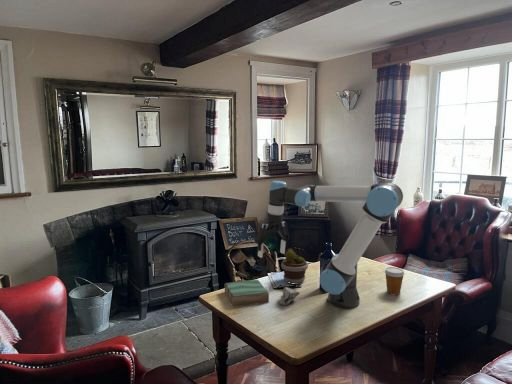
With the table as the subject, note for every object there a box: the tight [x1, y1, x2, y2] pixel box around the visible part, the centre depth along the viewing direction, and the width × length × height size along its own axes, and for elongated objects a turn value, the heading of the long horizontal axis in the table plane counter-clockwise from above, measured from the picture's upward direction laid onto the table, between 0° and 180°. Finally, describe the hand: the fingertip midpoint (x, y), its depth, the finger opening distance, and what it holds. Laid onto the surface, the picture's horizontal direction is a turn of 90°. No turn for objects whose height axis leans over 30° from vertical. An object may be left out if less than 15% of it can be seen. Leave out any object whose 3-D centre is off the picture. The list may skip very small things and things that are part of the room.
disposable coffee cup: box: [384, 266, 405, 296], centre depth 194 cm, size 10×10×12 cm
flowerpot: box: [280, 248, 309, 285], centre depth 208 cm, size 14×15×20 cm
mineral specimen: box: [278, 286, 301, 306], centre depth 184 cm, size 10×8×10 cm
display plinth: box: [224, 278, 270, 308], centre depth 189 cm, size 18×18×5 cm
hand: (271, 254), depth 185 cm, fingers open, 13 cm apart
